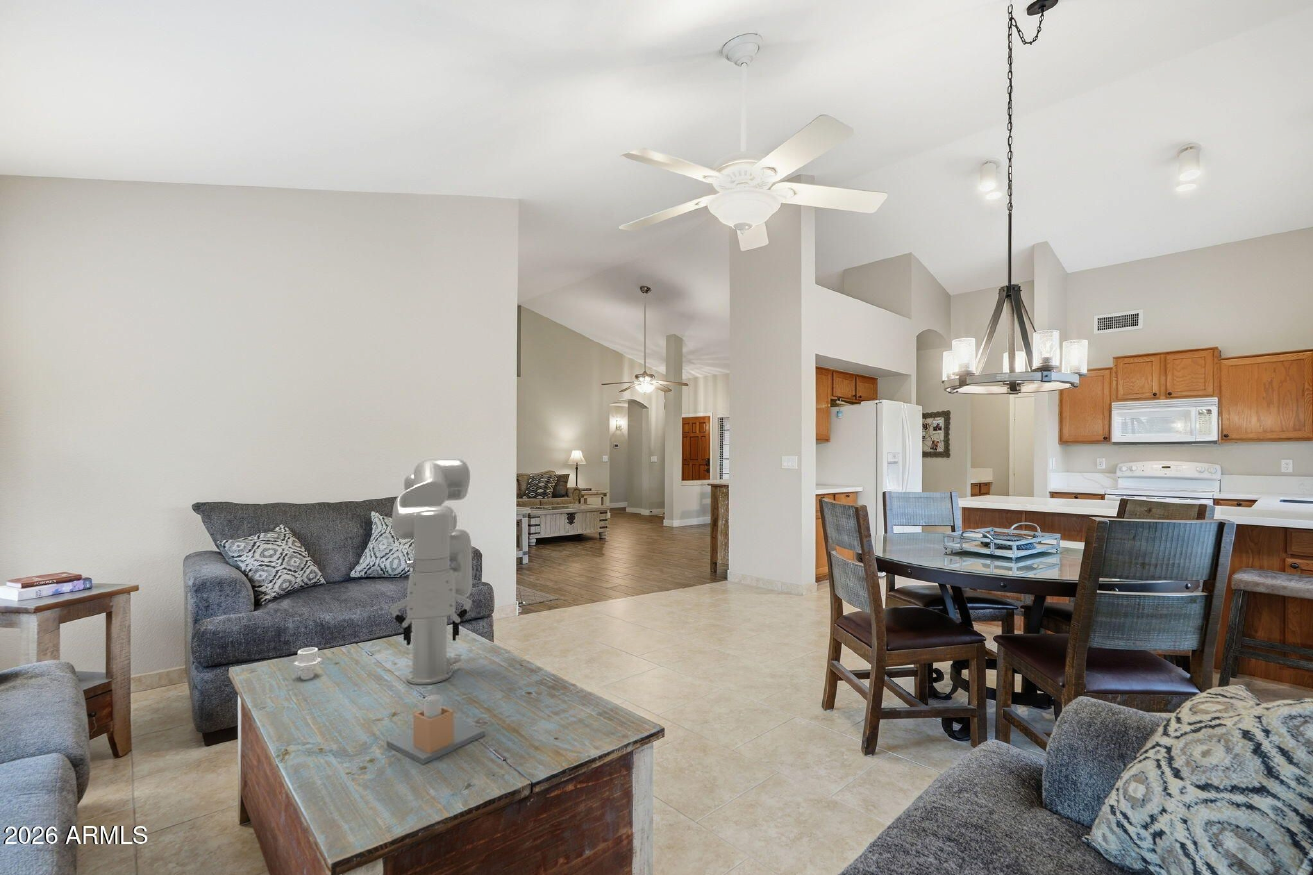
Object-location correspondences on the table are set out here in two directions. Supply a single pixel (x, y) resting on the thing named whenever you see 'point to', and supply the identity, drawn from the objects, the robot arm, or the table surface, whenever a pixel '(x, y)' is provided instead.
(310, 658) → the pipe fitting
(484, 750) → the table surface
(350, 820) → the table surface
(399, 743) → the grey peg stand
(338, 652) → the table surface
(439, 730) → the hollow square tube
